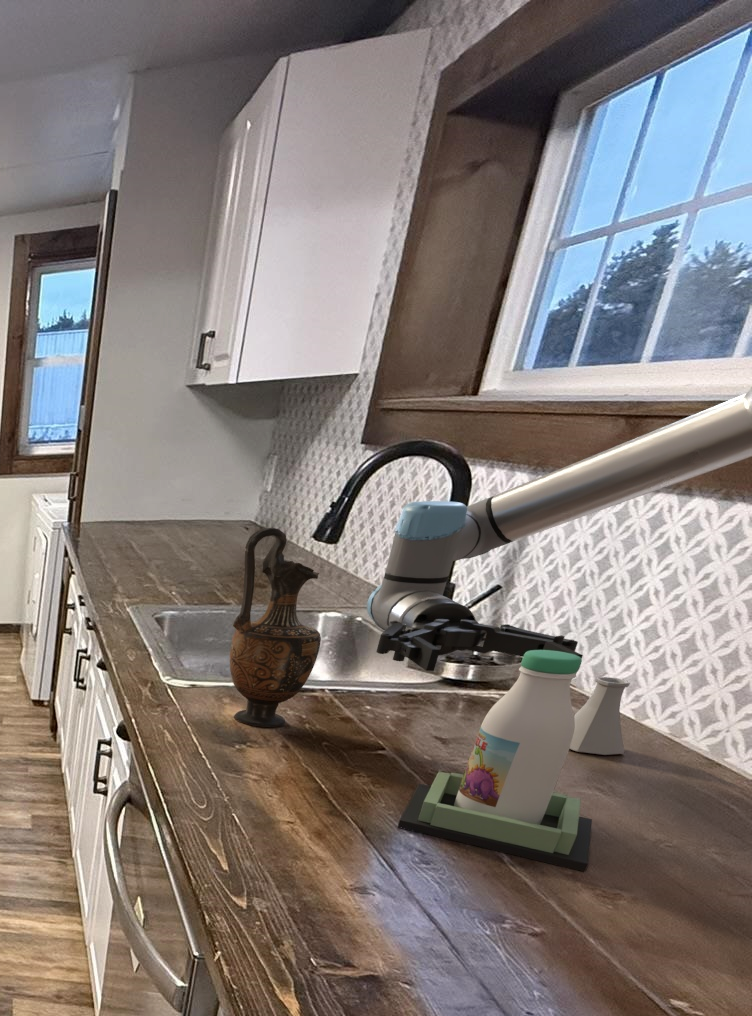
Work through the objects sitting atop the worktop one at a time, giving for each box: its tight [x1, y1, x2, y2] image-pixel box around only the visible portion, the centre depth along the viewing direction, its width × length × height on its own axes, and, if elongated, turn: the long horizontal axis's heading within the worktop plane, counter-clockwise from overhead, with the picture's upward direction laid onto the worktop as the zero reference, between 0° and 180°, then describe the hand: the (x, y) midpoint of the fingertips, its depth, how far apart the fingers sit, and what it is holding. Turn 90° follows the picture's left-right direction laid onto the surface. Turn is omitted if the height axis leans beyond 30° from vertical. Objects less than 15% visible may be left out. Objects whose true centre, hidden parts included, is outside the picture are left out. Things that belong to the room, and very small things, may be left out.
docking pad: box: [397, 771, 593, 872], centre depth 96 cm, size 16×14×4 cm
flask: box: [569, 676, 631, 756], centre depth 115 cm, size 7×7×10 cm
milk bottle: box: [454, 650, 583, 825], centre depth 93 cm, size 8×8×20 cm
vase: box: [229, 527, 322, 728], centre depth 127 cm, size 12×12×30 cm
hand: (502, 663), depth 98 cm, fingers open, 13 cm apart
